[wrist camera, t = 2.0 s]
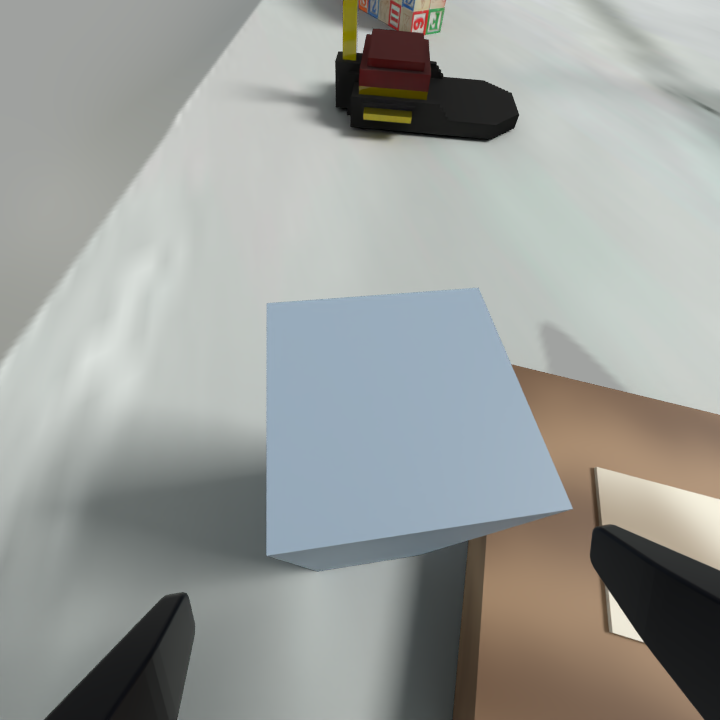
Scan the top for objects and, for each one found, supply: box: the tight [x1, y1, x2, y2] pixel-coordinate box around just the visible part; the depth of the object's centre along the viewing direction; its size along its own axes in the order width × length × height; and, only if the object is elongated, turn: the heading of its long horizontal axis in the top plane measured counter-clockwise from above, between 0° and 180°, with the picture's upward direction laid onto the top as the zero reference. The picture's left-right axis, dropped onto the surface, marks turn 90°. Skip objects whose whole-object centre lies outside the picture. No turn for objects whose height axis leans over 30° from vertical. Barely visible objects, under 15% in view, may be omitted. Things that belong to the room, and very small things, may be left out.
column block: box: [266, 288, 573, 571], centre depth 12 cm, size 5×5×13 cm
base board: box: [452, 364, 720, 720], centre depth 16 cm, size 16×16×3 cm
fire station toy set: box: [335, 0, 519, 139], centre depth 36 cm, size 14×20×11 cm
